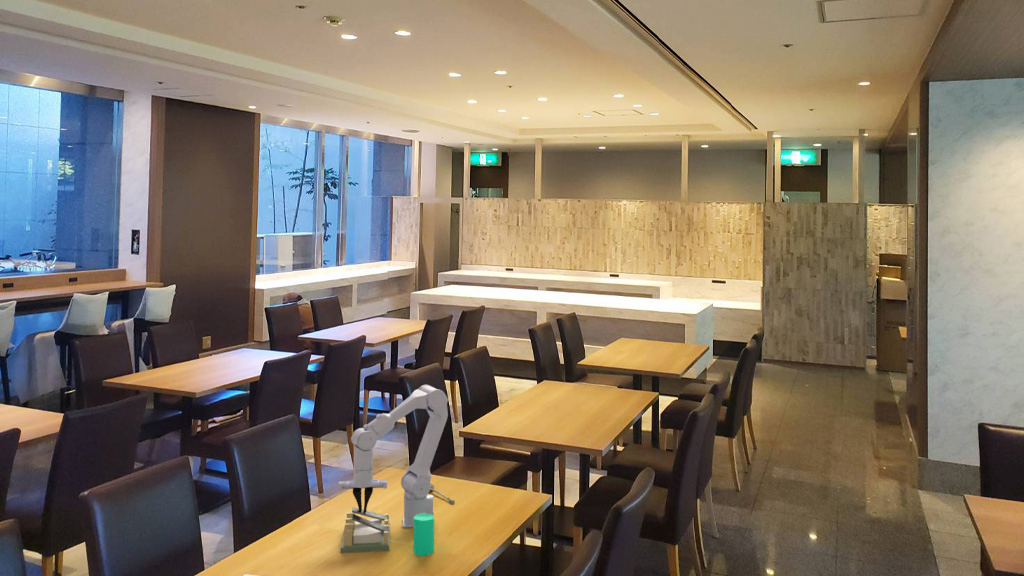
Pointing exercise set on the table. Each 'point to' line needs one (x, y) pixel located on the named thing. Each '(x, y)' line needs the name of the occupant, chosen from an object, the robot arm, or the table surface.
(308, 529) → the table surface
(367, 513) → the strap far
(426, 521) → the candle
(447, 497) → the soupspoon
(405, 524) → the robot arm
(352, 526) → the board
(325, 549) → the table surface
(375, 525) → the strap near
